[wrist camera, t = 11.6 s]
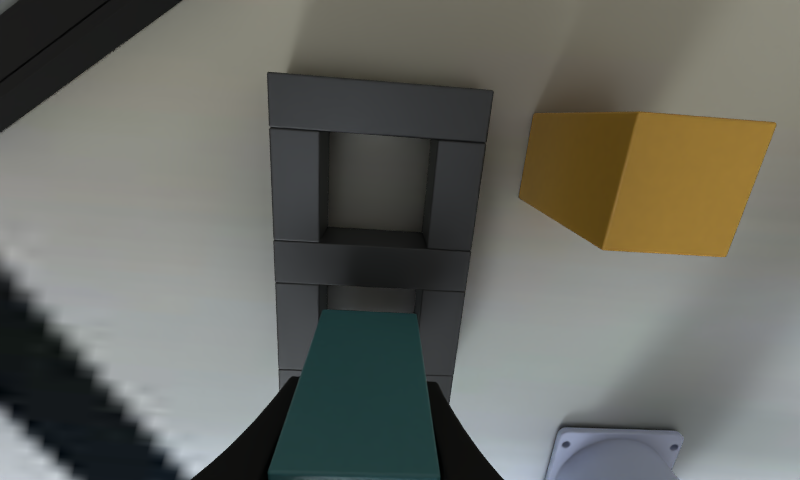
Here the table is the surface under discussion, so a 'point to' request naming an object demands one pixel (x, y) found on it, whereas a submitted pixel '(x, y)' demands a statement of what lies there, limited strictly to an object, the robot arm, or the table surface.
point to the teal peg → (360, 404)
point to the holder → (362, 248)
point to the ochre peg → (645, 178)
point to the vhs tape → (60, 44)
